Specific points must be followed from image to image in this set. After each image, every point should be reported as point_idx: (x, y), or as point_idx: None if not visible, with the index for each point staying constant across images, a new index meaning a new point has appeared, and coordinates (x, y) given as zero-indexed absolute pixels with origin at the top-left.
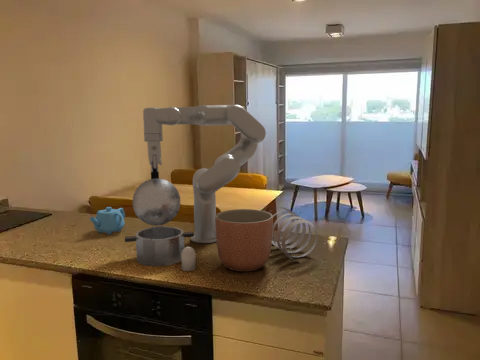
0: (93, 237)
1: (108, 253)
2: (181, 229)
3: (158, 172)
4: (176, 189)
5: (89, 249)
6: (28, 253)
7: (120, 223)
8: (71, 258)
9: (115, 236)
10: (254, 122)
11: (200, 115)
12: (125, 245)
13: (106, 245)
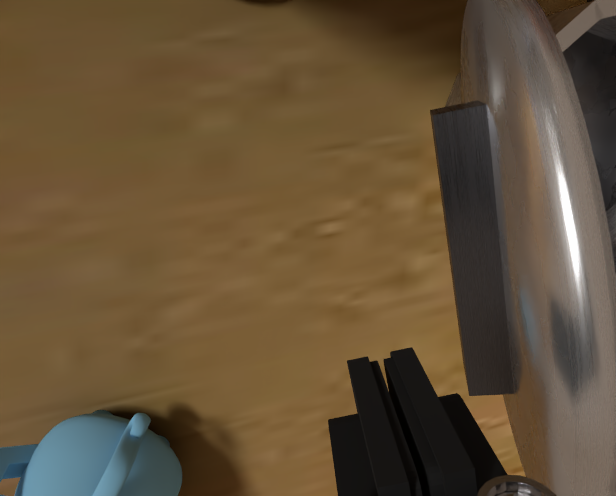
0: (214, 490)
1: (445, 375)
2: (591, 7)
3: (472, 465)
4: (541, 13)
5: None
6: None
7: (131, 436)
8: None
9: (196, 411)
10: None
11: None
12: (340, 336)
13: (334, 411)
